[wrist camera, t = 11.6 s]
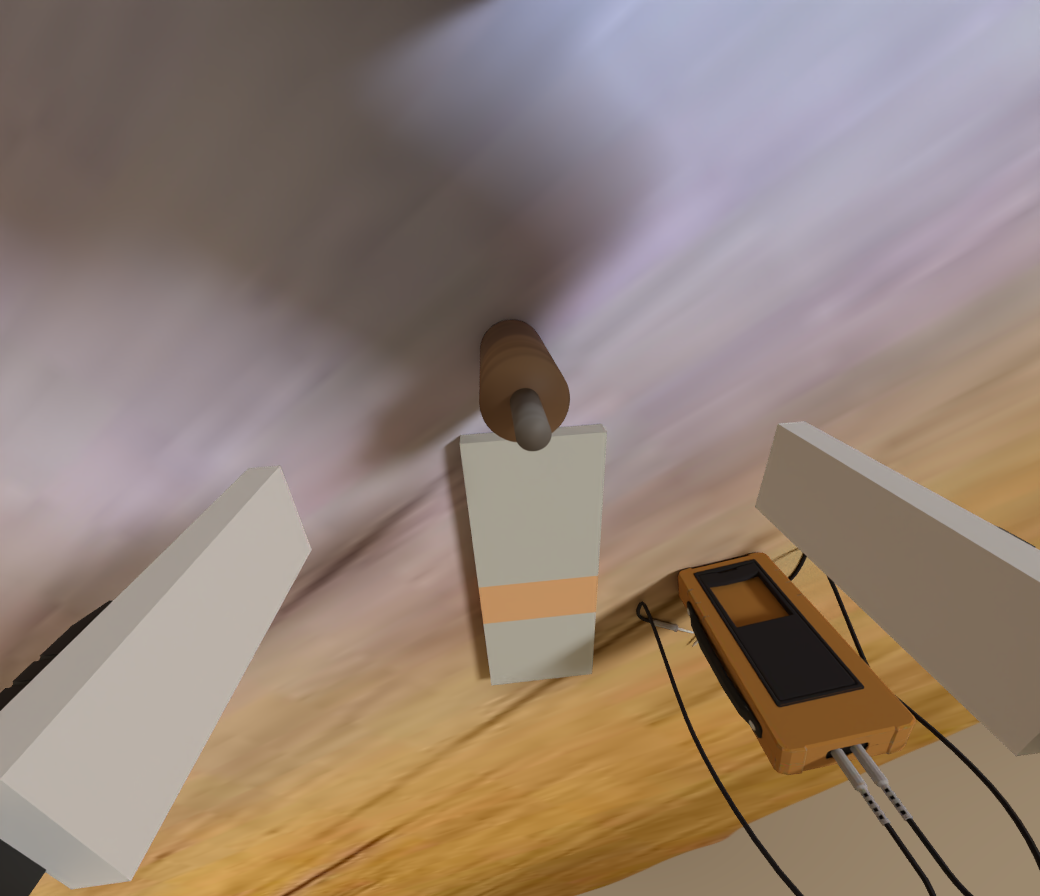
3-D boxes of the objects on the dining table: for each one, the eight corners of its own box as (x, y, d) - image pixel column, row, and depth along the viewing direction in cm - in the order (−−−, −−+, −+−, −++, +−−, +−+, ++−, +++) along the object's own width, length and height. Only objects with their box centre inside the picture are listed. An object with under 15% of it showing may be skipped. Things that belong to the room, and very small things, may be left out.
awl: (477, 321, 22) (473, 387, 12) (542, 317, 22) (589, 378, 12) (482, 384, 24) (484, 485, 14) (543, 380, 24) (585, 476, 14)
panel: (460, 435, 25) (459, 444, 24) (601, 424, 25) (606, 432, 24) (491, 672, 36) (491, 685, 35) (588, 661, 37) (592, 673, 36)
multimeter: (640, 654, 37) (786, 1032, 19) (630, 579, 32) (809, 987, 15) (797, 618, 37) (1092, 972, 19) (809, 536, 32) (1217, 906, 14)
